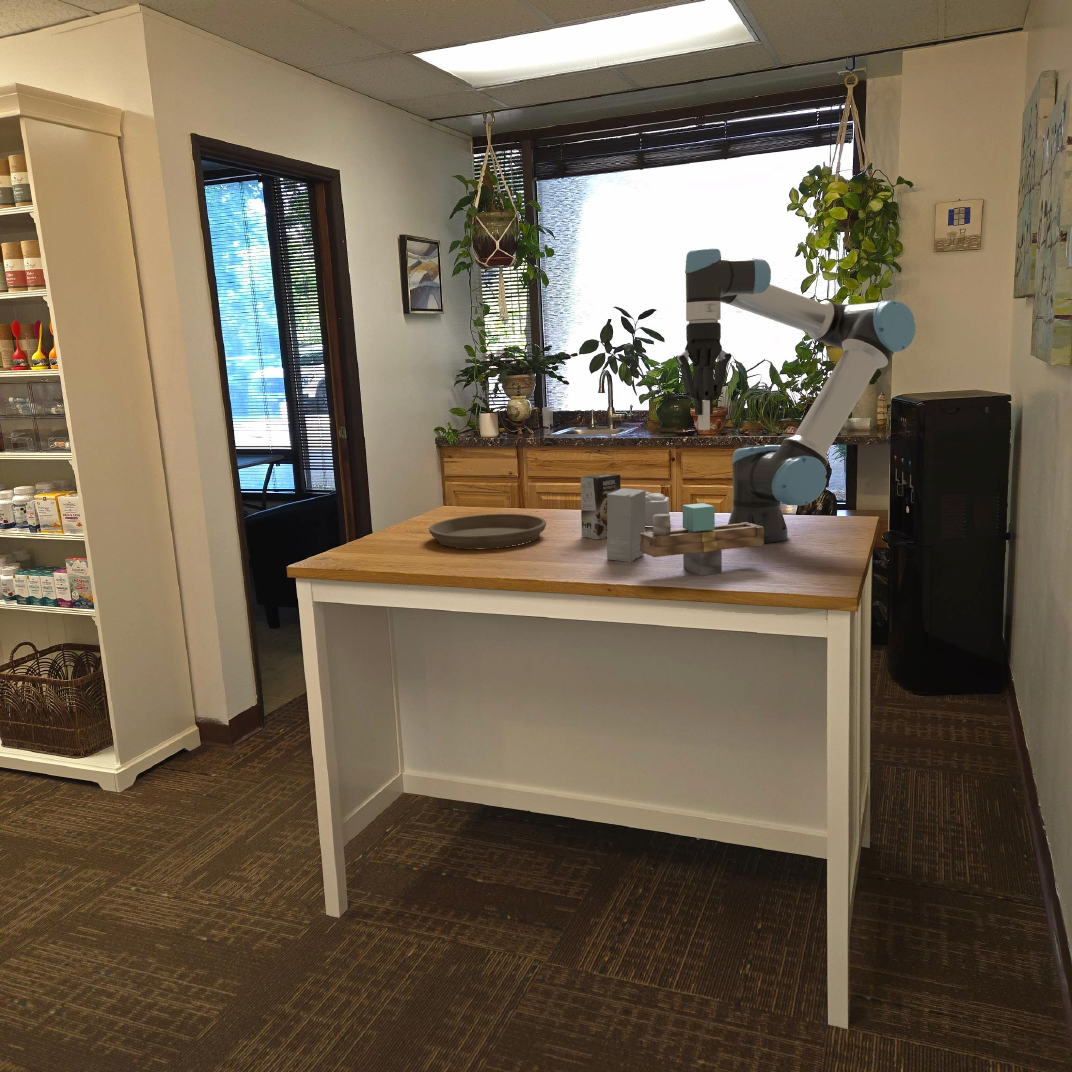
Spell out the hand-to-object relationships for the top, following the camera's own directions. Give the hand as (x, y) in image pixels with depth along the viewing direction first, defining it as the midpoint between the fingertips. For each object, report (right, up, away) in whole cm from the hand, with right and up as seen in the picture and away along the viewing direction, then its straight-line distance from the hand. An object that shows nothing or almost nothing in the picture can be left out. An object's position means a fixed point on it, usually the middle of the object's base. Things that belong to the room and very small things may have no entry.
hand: (704, 429), depth 211 cm
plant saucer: (-50, -25, +38) cm, 68 cm away
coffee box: (-20, -24, +36) cm, 48 cm away
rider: (-3, -24, -9) cm, 26 cm away
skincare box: (-17, -29, +8) cm, 35 cm away
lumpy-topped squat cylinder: (-7, -21, +50) cm, 55 cm away
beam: (-2, -32, -8) cm, 33 cm away
